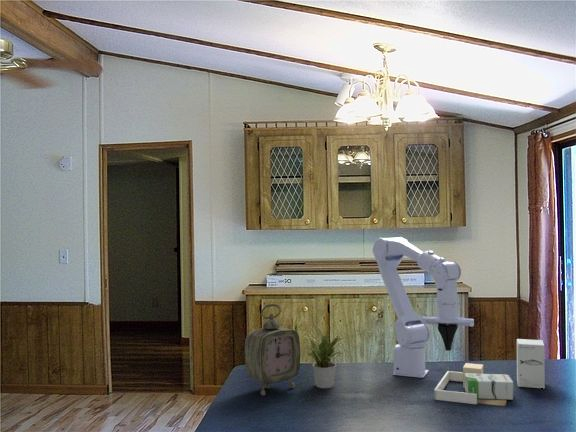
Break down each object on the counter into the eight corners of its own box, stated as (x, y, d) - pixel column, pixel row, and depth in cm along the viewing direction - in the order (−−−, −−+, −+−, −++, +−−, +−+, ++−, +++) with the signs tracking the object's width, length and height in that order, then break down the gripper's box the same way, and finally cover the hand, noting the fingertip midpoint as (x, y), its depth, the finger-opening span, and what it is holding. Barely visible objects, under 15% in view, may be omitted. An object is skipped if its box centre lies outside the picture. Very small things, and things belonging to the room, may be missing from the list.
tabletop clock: (261, 399, 168) (259, 308, 168) (242, 391, 175) (240, 305, 175) (301, 388, 177) (299, 302, 177) (281, 381, 184) (280, 299, 184)
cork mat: (465, 401, 163) (465, 401, 163) (471, 390, 173) (471, 389, 173) (505, 406, 158) (505, 405, 158) (508, 394, 168) (508, 393, 168)
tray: (434, 399, 165) (433, 389, 165) (447, 379, 183) (447, 370, 183) (476, 404, 160) (476, 394, 160) (486, 383, 179) (485, 374, 179)
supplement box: (517, 387, 174) (517, 343, 174) (516, 380, 181) (516, 338, 181) (545, 389, 172) (544, 345, 172) (543, 382, 179) (542, 339, 179)
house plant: (360, 390, 174) (359, 333, 174) (316, 396, 169) (315, 338, 169) (338, 377, 188) (337, 324, 187) (297, 383, 183) (296, 328, 182)
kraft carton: (463, 388, 175) (462, 367, 175) (465, 383, 180) (465, 363, 179) (481, 389, 173) (481, 368, 173) (483, 385, 177) (483, 364, 177)
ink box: (467, 399, 164) (514, 400, 162) (467, 380, 164) (513, 382, 162) (464, 389, 173) (508, 391, 170) (464, 372, 173) (508, 373, 170)
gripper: (419, 304, 177) (420, 351, 177) (470, 306, 171) (472, 354, 171) (424, 300, 183) (425, 346, 183) (474, 302, 177) (475, 349, 177)
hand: (448, 349), depth 177 cm, fingers closed
